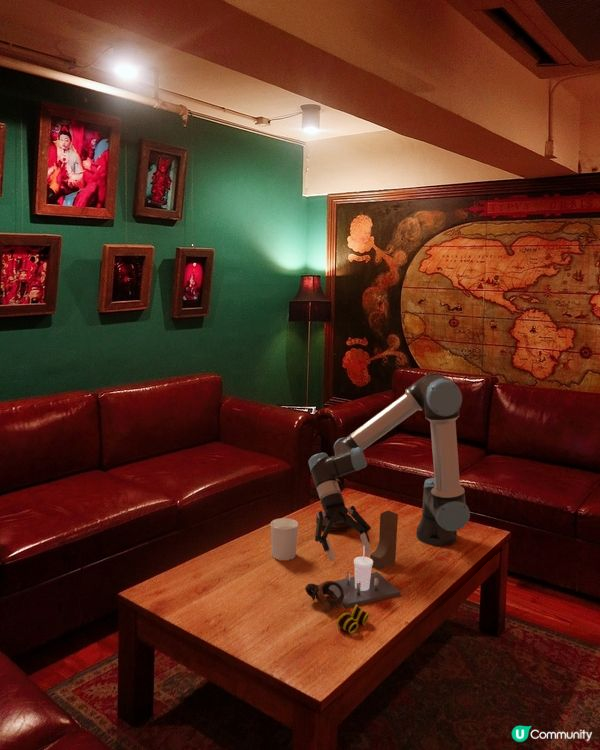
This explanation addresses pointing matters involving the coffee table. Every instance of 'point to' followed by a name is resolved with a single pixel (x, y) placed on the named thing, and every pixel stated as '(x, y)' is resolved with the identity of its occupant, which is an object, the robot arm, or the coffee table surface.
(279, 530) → the candle holder
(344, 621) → the opera glasses
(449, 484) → the robot arm
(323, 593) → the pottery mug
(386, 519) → the wooden block
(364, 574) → the beverage cup
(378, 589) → the cup stand
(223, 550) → the coffee table surface
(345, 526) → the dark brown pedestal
